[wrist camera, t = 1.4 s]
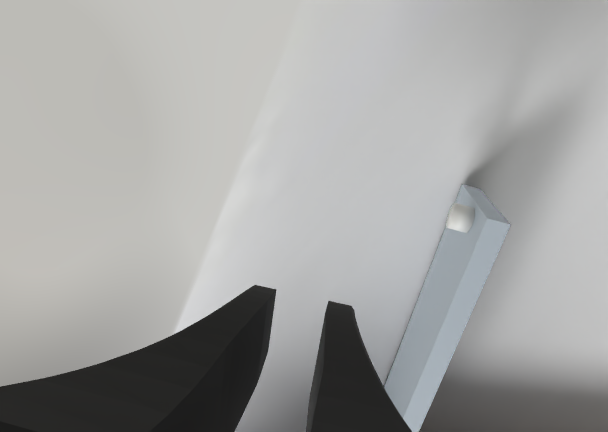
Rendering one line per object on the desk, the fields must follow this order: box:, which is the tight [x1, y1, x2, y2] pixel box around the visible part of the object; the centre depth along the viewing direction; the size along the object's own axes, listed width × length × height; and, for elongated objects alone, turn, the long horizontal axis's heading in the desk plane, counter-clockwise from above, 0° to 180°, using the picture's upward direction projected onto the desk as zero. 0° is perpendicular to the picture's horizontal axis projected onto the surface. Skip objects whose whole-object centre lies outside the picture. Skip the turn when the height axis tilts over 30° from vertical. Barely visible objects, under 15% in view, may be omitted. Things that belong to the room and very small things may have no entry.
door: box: [384, 184, 511, 432], centre depth 19 cm, size 15×2×5 cm, turn 167°
